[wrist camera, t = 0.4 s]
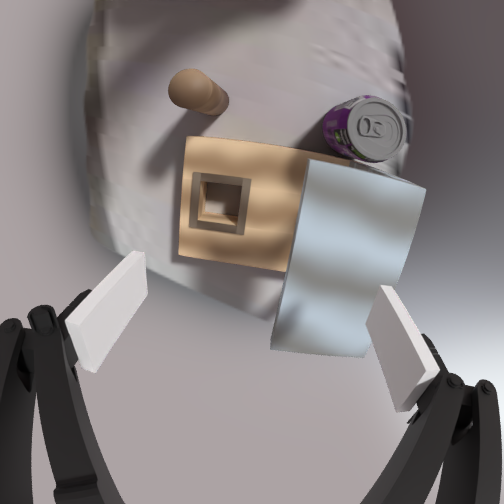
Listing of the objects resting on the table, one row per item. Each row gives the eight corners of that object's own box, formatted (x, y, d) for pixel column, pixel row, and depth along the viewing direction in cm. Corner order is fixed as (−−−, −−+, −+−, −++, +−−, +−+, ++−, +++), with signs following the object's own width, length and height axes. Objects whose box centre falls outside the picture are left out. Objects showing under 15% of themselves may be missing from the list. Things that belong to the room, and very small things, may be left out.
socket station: (195, 135, 35) (124, 140, 18) (356, 161, 35) (426, 189, 17) (186, 244, 42) (130, 322, 24) (331, 266, 42) (364, 357, 24)
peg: (201, 87, 33) (171, 68, 22) (230, 88, 33) (212, 69, 22) (197, 114, 34) (165, 107, 23) (226, 116, 34) (206, 109, 23)
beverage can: (318, 150, 35) (338, 157, 24) (324, 100, 32) (346, 85, 21) (368, 159, 35) (405, 171, 24) (374, 110, 32) (413, 103, 21)
